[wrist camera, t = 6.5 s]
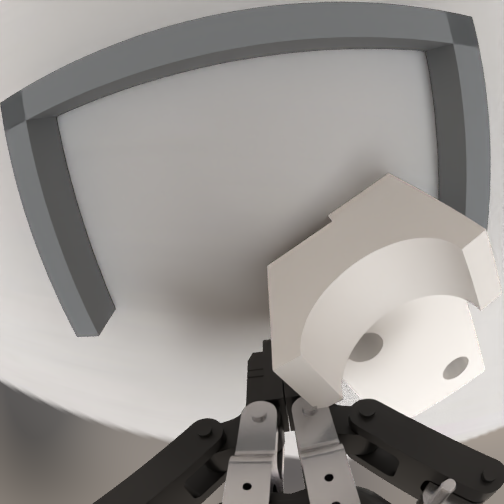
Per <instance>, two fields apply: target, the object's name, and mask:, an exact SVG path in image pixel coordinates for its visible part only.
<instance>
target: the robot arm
mask: <svg viewBox="0 0 504 504" xmlns="http://www.w3.org/2000/svg"><path fill="white" fill-rule="evenodd" d="M288 416H289V419H288ZM289 422H290V428H291V431H294V430H295V435H296V442H297V448H298V453H299V458H300V463H301V469H302V474H303V479H304V485H305V489H304V490H301V491H298V492H295V493H292V494H284V489H283V475H284V449H285V448H284V444H285V437H284V432H287V431H289ZM346 454H348V456H349V457H350V458H351V459H353V460H354V461H356V462H357V463H359V464H361V465H362V466H364V467H365V468H367V469H368V470H370V471H371V472H373V473H375V474H376V475H378V476H379V477H381V478H383V479H384V480H386V481H387V482H389V483H391V484H393V485H394V486H396V487H397V488H399V489H401V490H403V491H404V492H406V493H408V494H409V495H411V496H413V497H415V498H416V499H418V500H417V502H416V504H483V503H484V502H485V501H487V500H488V499H489V498H490V497H491V496H492V495H493V494H494V493H495V492H496V491H497V490H498V489H499V488H500V487H501V486H502V485H503V483H504V465H503V464H502V463H501V462H500V461H498V460H496V459H494V458H491V457H489V456H486V455H485V454H482V453H480V452H478V451H476V450H474V449H472V448H470V447H467V446H465V445H463V444H461V443H459V442H457V441H455V440H453V439H451V438H449V437H447V436H445V435H443V434H441V433H439V432H437V431H435V430H433V429H431V428H429V427H427V426H425V425H423V424H421V423H419V422H417V421H415V420H413V419H411V418H409V417H407V416H405V415H404V414H402V413H400V412H398V411H396V410H394V409H392V408H390V407H389V406H387V405H385V404H383V403H381V402H379V401H377V400H375V399H362V400H359V401H357V402H355V403H354V404H353V405H352V406H340V405H336V404H333V405H331V406H329V407H324V408H318V409H317V406H314V407H313V406H311V405H310V404H309V403H308V402H307V401H306V400H305V399H303V398H302V397H301V396H300V395H299V394H298V393H297V392H296V391H295V390H293V389H292V388H291V387H290V386H289V385H288V384H287V383H286V382H285V381H283V380H282V379H281V378H280V377H279V376H278V375H277V374H276V373H275V372H274V371H273V368H272V348H271V340H263V352H257V353H252V355H251V357H250V359H249V360H248V372H247V398H246V407H245V408H244V409H243V411H242V413H241V414H240V415H239V416H238V417H236V418H235V419H232V420H230V421H227V422H223V423H219V422H218V421H217V420H214V419H210V418H206V419H201V420H198V421H196V422H195V423H193V424H192V425H191V426H190V427H189V428H188V429H186V430H185V431H184V432H183V433H182V434H181V435H179V436H178V437H177V438H176V439H175V440H174V441H172V442H171V443H170V444H169V445H168V446H167V447H165V448H164V449H163V450H162V451H161V452H159V453H158V454H157V455H156V456H154V457H153V458H152V459H151V460H149V461H148V462H147V463H146V464H144V465H143V466H142V467H141V468H140V469H138V470H137V471H136V472H135V473H133V474H132V475H131V476H129V477H128V478H127V479H125V480H124V481H123V482H121V483H120V484H119V485H118V486H116V487H115V488H114V489H112V490H111V491H109V492H108V493H107V494H105V495H104V496H103V497H102V498H100V499H99V500H97V501H96V502H94V503H93V504H201V503H202V502H204V501H205V500H206V498H208V497H209V496H210V495H211V494H212V493H213V492H214V491H215V490H216V489H217V488H218V487H219V486H220V485H222V483H224V482H225V481H226V482H225V488H224V495H223V501H222V503H219V504H391V503H389V502H388V501H386V500H385V499H383V498H382V497H381V496H379V495H377V494H376V493H374V492H372V491H370V490H368V489H365V488H362V487H357V486H355V482H354V479H353V476H352V472H351V469H350V466H349V462H348V459H347V456H346Z"/></svg>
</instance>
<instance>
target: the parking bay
mask: <svg viewBox="0 0 504 504" xmlns="http://www.w3.org/2000/svg"><path fill="white" fill-rule="evenodd" d="M333 49H403V50H419V51H426V55H427V60H428V66H429V72H430V78H431V84H432V92H433V99H434V108H435V117H436V129H437V142H438V162H439V201H441V202H443V203H444V204H446V205H448V206H449V207H451V208H453V209H454V210H456V211H458V212H459V213H461V214H463V215H464V216H466V217H467V218H469V219H471V220H472V221H474V222H475V223H477V224H479V225H480V226H482V227H483V228H485V229H486V231H487V226H488V215H489V200H490V130H489V115H488V104H487V95H486V87H485V79H484V73H483V67H482V61H481V55H480V50H479V45H478V40H477V36H476V31H475V27H474V23H473V19H472V17H470V16H466V15H461V14H456V13H451V12H446V11H441V10H435V9H428V8H422V7H414V6H406V5H396V4H384V3H366V2H316V3H298V4H286V5H276V6H267V7H259V8H252V9H245V10H239V11H233V12H228V13H222V14H217V15H212V16H208V17H203V18H199V19H195V20H191V21H187V22H183V23H179V24H175V25H172V26H168V27H165V28H161V29H158V30H155V31H151V32H148V33H145V34H142V35H139V36H136V37H133V38H131V39H128V40H125V41H122V42H120V43H117V44H114V45H112V46H109V47H107V48H104V49H102V50H99V51H97V52H95V53H92V54H90V55H88V56H85V57H83V58H81V59H79V60H77V61H74V62H72V63H70V64H68V65H66V66H64V67H62V68H60V69H58V70H56V71H54V72H52V73H50V74H48V75H46V76H45V77H43V78H41V79H39V80H37V81H35V82H34V83H32V84H30V85H28V86H27V87H25V88H23V89H22V90H20V91H18V92H17V93H15V94H13V95H12V96H10V97H9V98H7V99H6V100H4V101H2V102H1V103H0V105H1V112H2V118H3V124H4V130H5V135H6V141H7V146H8V150H9V155H10V159H11V164H12V168H13V172H14V176H15V180H16V184H17V187H18V191H19V194H20V198H21V201H22V205H23V208H24V211H25V214H26V217H27V221H28V224H29V227H30V229H31V232H32V235H33V238H34V241H35V244H36V246H37V249H38V252H39V254H40V257H41V259H42V262H43V264H44V267H45V269H46V272H47V274H48V277H49V279H50V281H51V284H52V286H53V288H54V290H55V293H56V295H57V297H58V299H59V301H60V304H61V306H62V308H63V310H64V312H65V314H66V316H67V318H68V320H69V322H70V324H71V326H72V328H73V330H74V332H75V334H76V336H77V337H88V336H99V335H100V333H101V332H102V330H103V328H104V327H105V325H106V324H107V322H108V320H109V319H110V317H111V316H112V314H113V312H114V311H115V307H114V305H113V302H112V300H111V298H110V295H109V293H108V290H107V288H106V285H105V283H104V280H103V278H102V275H101V273H100V270H99V267H98V265H97V262H96V259H95V256H94V254H93V251H92V248H91V245H90V242H89V239H88V236H87V233H86V230H85V227H84V224H83V221H82V218H81V215H80V212H79V208H78V205H77V202H76V198H75V195H74V191H73V188H72V184H71V180H70V176H69V173H68V169H67V165H66V161H65V156H64V152H63V148H62V143H61V139H60V134H59V129H58V124H57V119H56V116H59V115H61V114H63V113H65V112H68V111H70V110H72V109H75V108H77V107H79V106H82V105H84V104H87V103H89V102H92V101H94V100H97V99H99V98H102V97H105V96H107V95H110V94H113V93H116V92H119V91H121V90H124V89H127V88H130V87H133V86H136V85H140V84H143V83H146V82H149V81H153V80H156V79H159V78H163V77H166V76H170V75H174V74H178V73H181V72H185V71H189V70H194V69H198V68H202V67H207V66H211V65H216V64H221V63H226V62H231V61H237V60H242V59H248V58H255V57H261V56H268V55H276V54H284V53H293V52H304V51H316V50H333Z"/></svg>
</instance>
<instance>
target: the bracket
mask: <svg viewBox="0 0 504 504" xmlns="http://www.w3.org/2000/svg"><path fill="white" fill-rule="evenodd" d="M328 216H329V218H330V219H331V221H332V222H330V223H329V224H328V225H326V226H325V227H323V228H322V229H320V230H319V231H317V232H316V233H315V234H313V235H312V236H310V237H309V238H307V239H306V240H304V241H303V242H301V243H300V244H298V245H297V246H296V247H294V248H293V249H291V250H290V251H288V252H287V253H285V254H284V255H282V256H281V257H279V258H278V259H276V260H275V261H273V262H272V263H271V264H269V265H268V266H267V275H268V292H269V310H270V329H271V348H272V368H273V371H274V372H275V373H276V374H277V375H278V376H279V377H280V378H281V379H282V380H283V381H285V382H286V383H287V384H288V385H289V386H290V387H291V388H292V389H293V390H295V391H296V392H297V393H298V394H299V395H300V396H301V397H302V398H303V399H305V400H306V401H307V402H308V403H309V404H310V405H311V406H313V407H314V406H317V409H318V408H324V407H329V406H331V405H333V404H335V403H337V402H339V401H341V400H343V394H342V379H343V380H344V381H345V382H346V383H347V384H348V386H349V387H350V388H351V389H352V390H353V391H354V392H355V393H356V394H357V395H358V397H359V398H360V399H361V400H362V399H375V400H377V401H379V402H381V403H383V404H385V405H387V406H389V407H390V408H392V409H394V410H396V411H398V412H400V413H402V414H404V415H405V416H407V417H409V418H413V417H415V416H416V415H418V414H420V413H421V412H423V411H425V410H427V409H428V408H430V407H432V406H433V405H435V404H436V403H438V402H440V401H441V400H443V399H444V398H446V397H448V396H449V395H451V394H452V393H454V392H455V391H457V390H458V389H460V388H461V387H463V386H464V385H465V384H467V383H468V382H470V381H471V380H473V379H474V378H475V377H477V376H478V375H479V374H481V373H482V372H483V371H485V368H484V364H483V359H482V355H481V351H480V346H479V342H478V339H477V335H476V331H475V327H474V324H473V320H472V317H471V313H470V310H469V307H468V304H467V301H469V302H471V303H472V304H473V305H475V306H476V307H477V308H478V309H479V310H480V311H482V310H483V309H484V308H486V307H487V306H488V305H489V304H490V303H492V302H493V301H494V300H495V299H496V298H498V297H499V296H500V295H501V294H502V290H501V285H500V281H499V276H498V272H497V267H496V263H495V259H494V255H493V252H492V248H491V244H490V241H489V237H488V234H487V231H486V229H485V228H483V227H482V226H480V225H479V224H477V223H475V222H474V221H472V220H471V219H469V218H467V217H466V216H464V215H463V214H461V213H459V212H458V211H456V210H454V209H453V208H451V207H449V206H448V205H446V204H444V203H443V202H441V201H439V200H437V199H436V198H434V197H432V196H430V195H429V194H427V193H425V192H423V191H421V190H420V189H418V188H416V187H414V186H412V185H410V184H408V183H406V182H405V181H403V180H401V179H399V178H397V177H395V176H393V175H391V174H389V173H388V174H386V175H385V176H384V177H382V178H381V179H379V180H378V181H376V182H375V183H374V184H372V185H371V186H369V187H368V188H366V189H365V190H364V191H362V192H361V193H359V194H358V195H356V196H355V197H354V198H352V199H351V200H349V201H348V202H346V203H345V204H344V205H342V206H341V207H339V208H338V209H336V210H335V211H334V212H332V213H331V214H329V215H328Z"/></svg>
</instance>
